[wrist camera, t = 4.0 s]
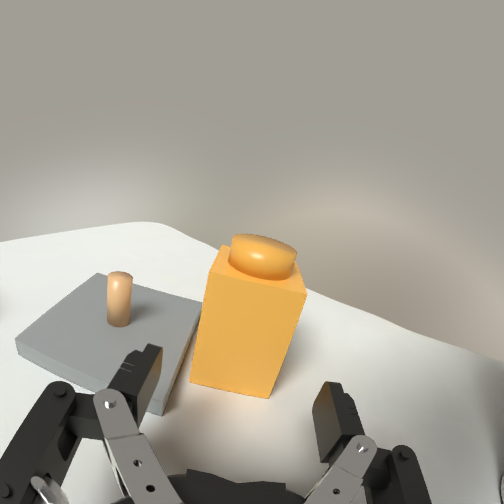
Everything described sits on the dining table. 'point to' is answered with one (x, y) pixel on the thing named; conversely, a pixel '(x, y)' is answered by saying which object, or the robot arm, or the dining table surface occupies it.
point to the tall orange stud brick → (248, 316)
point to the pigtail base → (111, 333)
